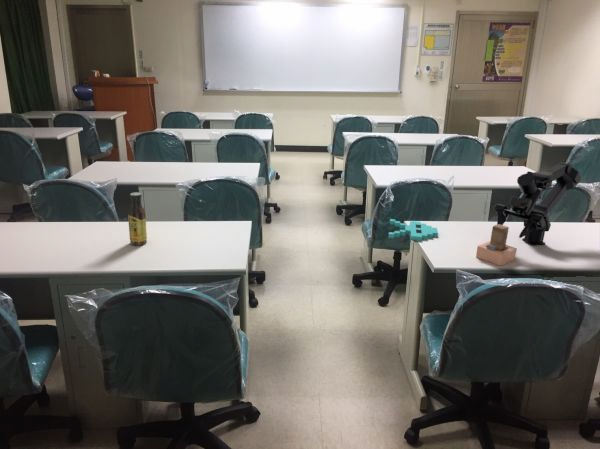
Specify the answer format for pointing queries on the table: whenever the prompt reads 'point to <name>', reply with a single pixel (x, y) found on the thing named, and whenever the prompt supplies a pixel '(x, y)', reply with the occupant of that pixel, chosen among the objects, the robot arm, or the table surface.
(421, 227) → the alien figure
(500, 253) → the box
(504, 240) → the walnut stick
